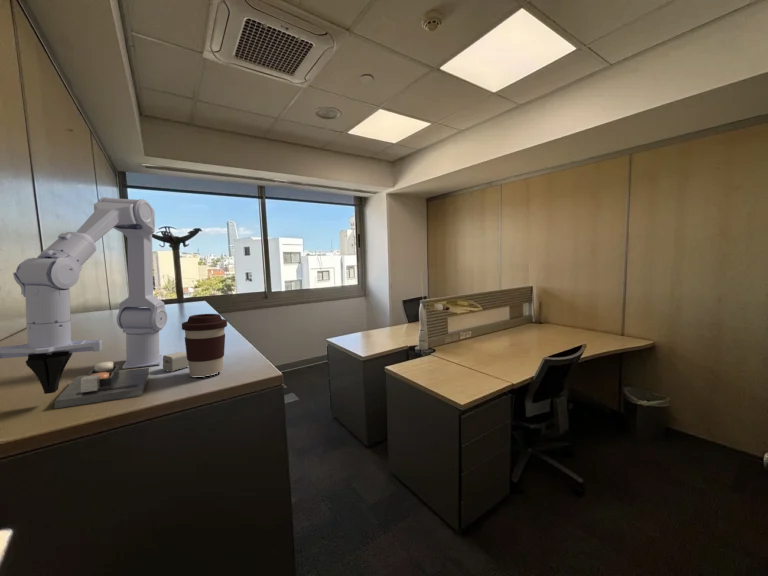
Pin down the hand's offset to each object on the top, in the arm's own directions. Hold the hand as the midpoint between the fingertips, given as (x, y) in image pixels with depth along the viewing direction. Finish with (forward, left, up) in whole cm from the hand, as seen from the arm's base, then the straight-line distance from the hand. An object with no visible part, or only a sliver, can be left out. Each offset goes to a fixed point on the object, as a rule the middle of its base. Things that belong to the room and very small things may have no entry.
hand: (51, 391), depth 60 cm
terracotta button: (-5, +6, -1) cm, 8 cm away
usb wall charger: (-15, +21, -3) cm, 26 cm away
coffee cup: (-6, +26, -3) cm, 27 cm away
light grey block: (0, +5, -1) cm, 6 cm away
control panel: (-5, +7, -3) cm, 9 cm away
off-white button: (-10, +6, 0) cm, 12 cm away
